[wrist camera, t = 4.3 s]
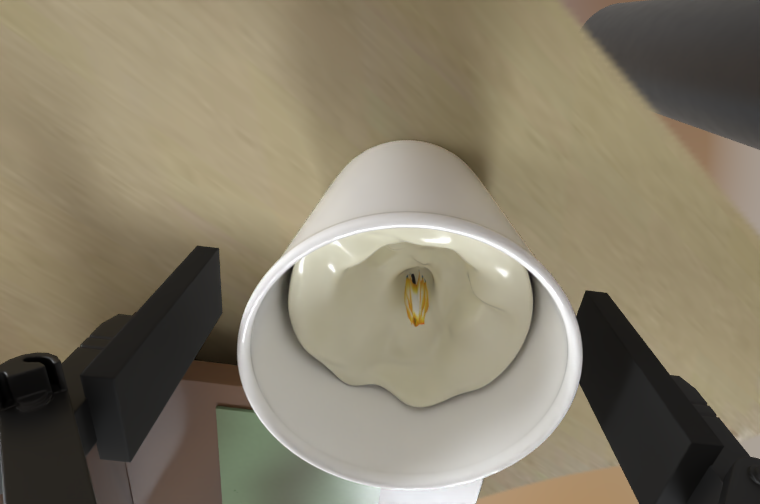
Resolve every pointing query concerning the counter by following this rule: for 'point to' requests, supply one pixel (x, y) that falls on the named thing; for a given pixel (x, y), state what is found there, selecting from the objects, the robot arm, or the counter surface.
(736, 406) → the counter surface
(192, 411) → the wooden display stand
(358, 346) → the candle holder
